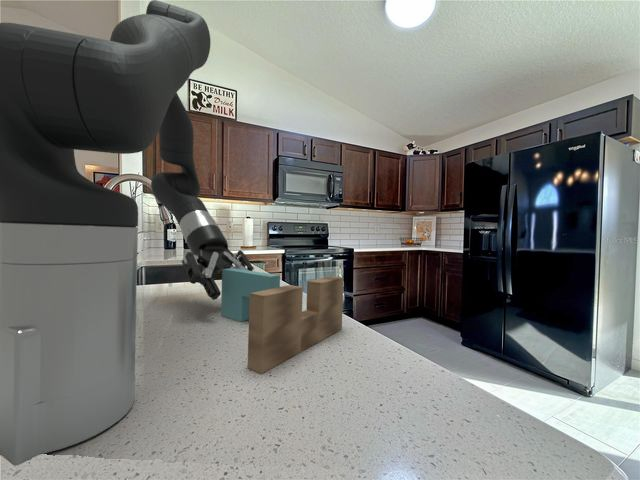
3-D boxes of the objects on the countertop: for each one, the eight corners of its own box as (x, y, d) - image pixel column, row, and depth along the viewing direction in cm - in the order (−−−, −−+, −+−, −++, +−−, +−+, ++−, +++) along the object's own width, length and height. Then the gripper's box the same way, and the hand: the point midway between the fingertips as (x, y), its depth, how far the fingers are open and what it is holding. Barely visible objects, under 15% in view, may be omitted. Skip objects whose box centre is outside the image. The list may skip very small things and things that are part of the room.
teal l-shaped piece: (221, 315, 56) (222, 269, 55) (231, 312, 58) (232, 268, 57) (269, 330, 48) (270, 276, 48) (278, 326, 50) (280, 275, 50)
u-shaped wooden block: (261, 374, 33) (263, 296, 33) (247, 367, 34) (249, 293, 34) (341, 329, 50) (343, 277, 49) (330, 326, 51) (331, 276, 51)
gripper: (178, 221, 54) (212, 287, 47) (237, 225, 65) (270, 278, 59) (164, 247, 57) (194, 311, 50) (222, 245, 68) (252, 298, 62)
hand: (235, 293), depth 55 cm, fingers open, 8 cm apart
